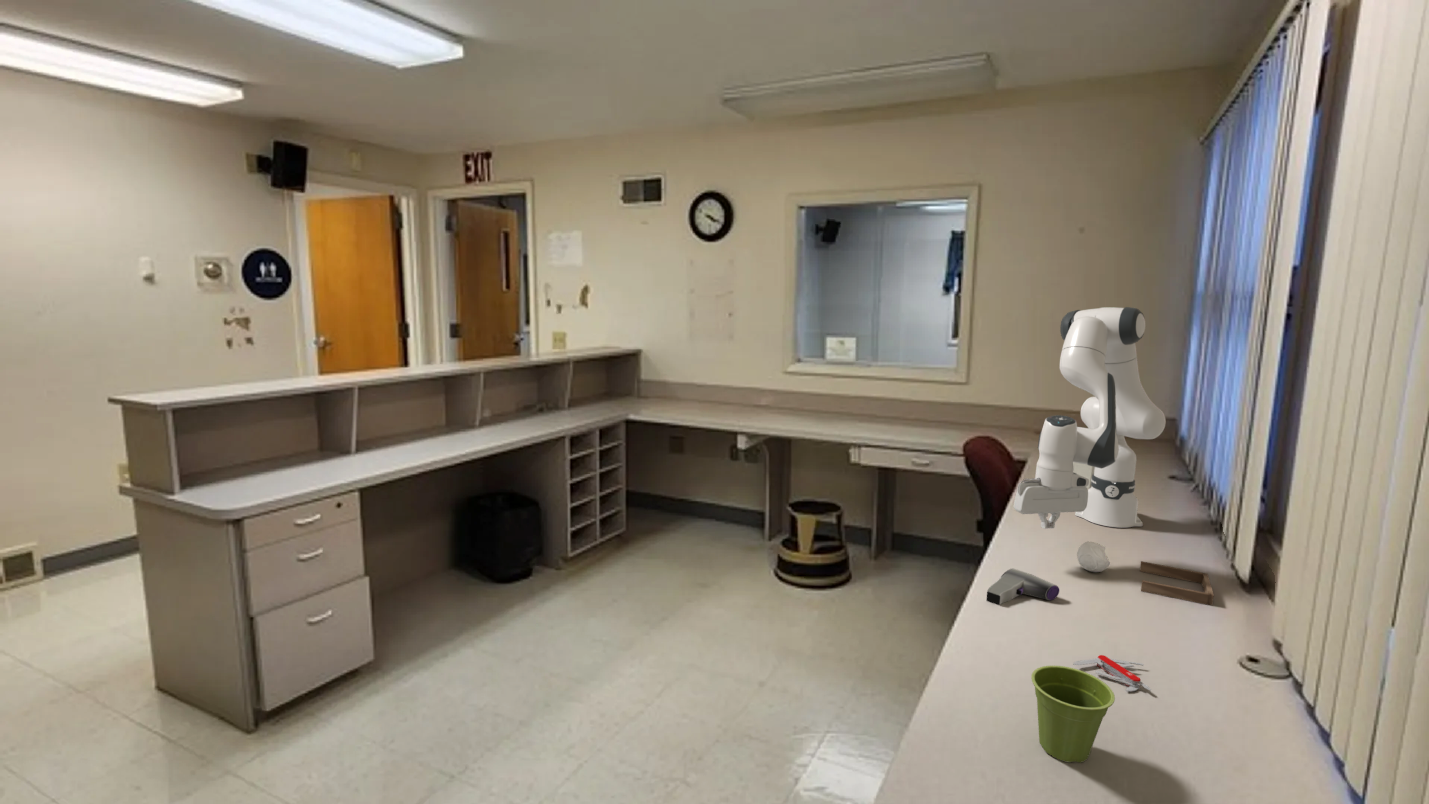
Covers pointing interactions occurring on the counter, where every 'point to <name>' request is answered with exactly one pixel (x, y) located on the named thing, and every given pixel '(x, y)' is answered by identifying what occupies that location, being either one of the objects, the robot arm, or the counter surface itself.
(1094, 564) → the white sculpted ball
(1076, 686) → the plant pot
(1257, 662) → the counter surface
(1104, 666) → the swiss army knife
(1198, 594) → the bay
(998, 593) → the infrared thermometer
